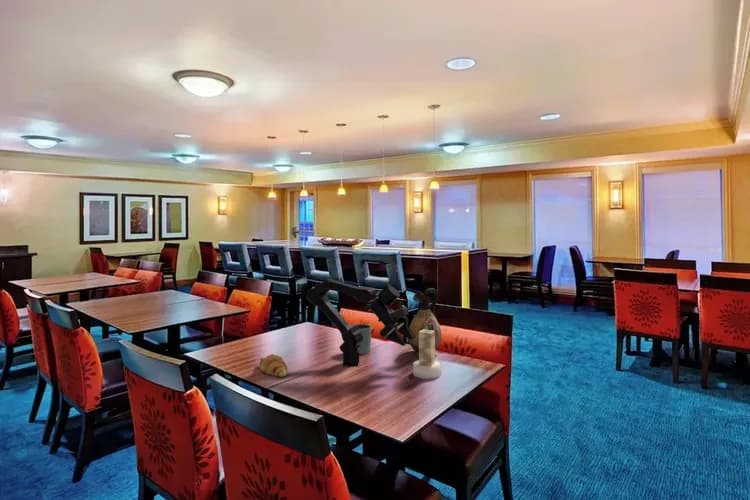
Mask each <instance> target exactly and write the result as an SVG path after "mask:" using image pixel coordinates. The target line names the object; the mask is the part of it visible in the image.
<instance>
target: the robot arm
mask: <svg viewBox="0 0 750 500" xmlns="http://www.w3.org/2000/svg"><path fill="white" fill-rule="evenodd" d="M330 290H331V291H335V292H337V293H340V294H343V295H346V296H347V295H348V296H350V297H353V298H354V299H355V300H356V301H358V302H360V303H363V304H366V305H365V307H366V308H365V312H366V313H369V312H370V311H371V312H373V314H374V315H375V316H376V318H377V321H378V323H382V325H383V326H384V327H383V328H382V329H381V330H379V336H380V337H381V338H382V339H386V340H389V341H392V342H394V343H395V344H398V345H400V346H403V347H405V345H406V343H405V341H404V339H403V338H402V337H401V335H402V336H404V337H405V338H407V340H408V339H410V340H412V339H413V337H412V335H411V333H410V331H409V326H408V325H409V318H408V317H407V315H409V312H408V310H409V308H408V307H407V306H405V305H404V304H402V305H399V306H398V309H397V310H394V309H389V308H388V306H391V305H392V304H394V302H396V300H397V299H398V298H400V296H401V294H400V292H399V291H398V290H397V289H396V288H395V287H393V286H391V285H390V284H389V283H388V284H386V285H385V286H384V287H383V289H382V290H381V291H378V290H375V288H374V287H370V286H369V287H368V286H356V285H352V284H348V283H346V282H343V281H339V280H336V279H333V278H330V279H329V278H328V279H326V280H324V281H323V282H321V283H319V284H318V285H316V286H314V287H311V288H308V289H307V291H306V296H305V297H306V299H307V300H308V301H309V302H310V303H311V304H313V305H314V306H316V307H318V308H320V310H321V311H322V312H323V313H324V314H325V316H326V317H327V318H328V319H329V320H330V321H331V323H332V324H333V325H334V326H335V327H336V329H337V330H338V331H339V333H340V335H341V339H342V341H343V342H342V343H341V345H339V350H340V352H342V366H343V367H351V366H352V367H353V366H359V363H360V354H359V352H358V348H359V347H360V344H361V343H362V342H363V335H362V332H361V331H360V330H359V329H358V327H357V326H354V327H352V325H350V324H349V323H348V322H347V321H346V319H345V318H344V316H342V314H340V312H339V311H338V310H337V309H336V307H335V306H333V304H332V303H331V302H330V300H329V297H328V294H327V293H328V292H330ZM376 299H377V300H376ZM370 302H371V303H370ZM368 303H370V304H368ZM400 334H401V335H400Z"/></svg>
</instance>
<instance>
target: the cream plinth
mask: <svg viewBox="0 0 750 500" xmlns="http://www.w3.org/2000/svg"><path fill="white" fill-rule="evenodd" d="M412 368H413V369H412V370H413V371H412V374H413V376H414V377H416V378H419V379H423V380H434V379H438V378H440V377H441V376H442V363H441V362H439V361H437V360H435V363H434V365H433V366H432V367H430V366H422V365H419V359H418V360H416V361H413V363H412Z"/></svg>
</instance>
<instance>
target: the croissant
mask: <svg viewBox="0 0 750 500" xmlns="http://www.w3.org/2000/svg"><path fill="white" fill-rule="evenodd" d="M259 361H260V362H259V369H260V370H261V371H260V372H262V373H263V374H265V373H266V375H268V374H272V375H271V376H273V375H274V377H275V376H276V377H278V378H279V377H280V378H282V377H283V378H284V377H286V376H287V373H288V366H287V364H286V362H285V361H284V359H283V357H282V356H279V355H277V354H273V353H272V354H270V355H268V356H266V357H263V358H262V357H261V358H260V360H259Z"/></svg>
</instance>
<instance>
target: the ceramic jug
mask: <svg viewBox="0 0 750 500" xmlns="http://www.w3.org/2000/svg"><path fill="white" fill-rule="evenodd" d="M430 293H431V294H433V298H432V299H431V297H430V296H429V294H430ZM438 299H439V293H438V290H437V289H435V288H434V287H428V288H426V289H425V290H424V293H422V292H420V291H416V292H415V293H414V295H413V297H412V300H413V301H416V302H418V303H419V304H421V305H420V308H419V310H418V312H417V313H416V314H415V316H414V317H413V319H412V320H411V323H409V326H408V328H409V331H410V333H411V335H412V337H413V339H412V340H410V339H408V338H407V341H408V344H409V345H410V347H411V349H412V350H413V353H414V354H415V355H418V356H419V332H420V331H421V330H423V329H424V330H435V350H437V348H438V347H440V345H441V342H442V336H443V335H442V330H441V327H440V323H439V322H438V320H437V318H436V316H435V308H436V304H437V301H438ZM429 303H431V304H430V305H429Z"/></svg>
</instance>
